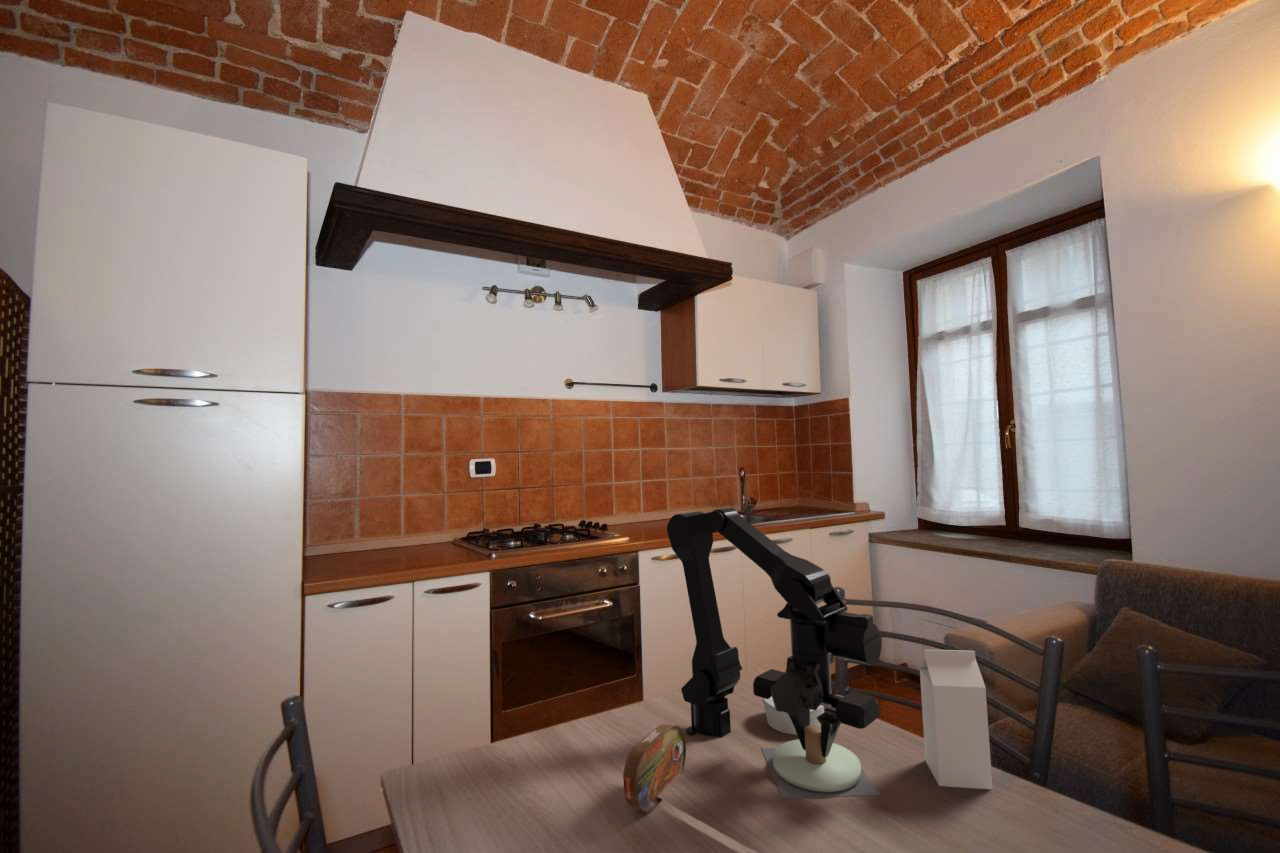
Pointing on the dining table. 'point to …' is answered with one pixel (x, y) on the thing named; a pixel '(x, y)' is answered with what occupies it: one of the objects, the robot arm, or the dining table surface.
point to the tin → (653, 766)
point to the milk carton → (955, 719)
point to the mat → (792, 791)
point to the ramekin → (787, 717)
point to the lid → (816, 764)
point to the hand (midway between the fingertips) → (815, 752)
